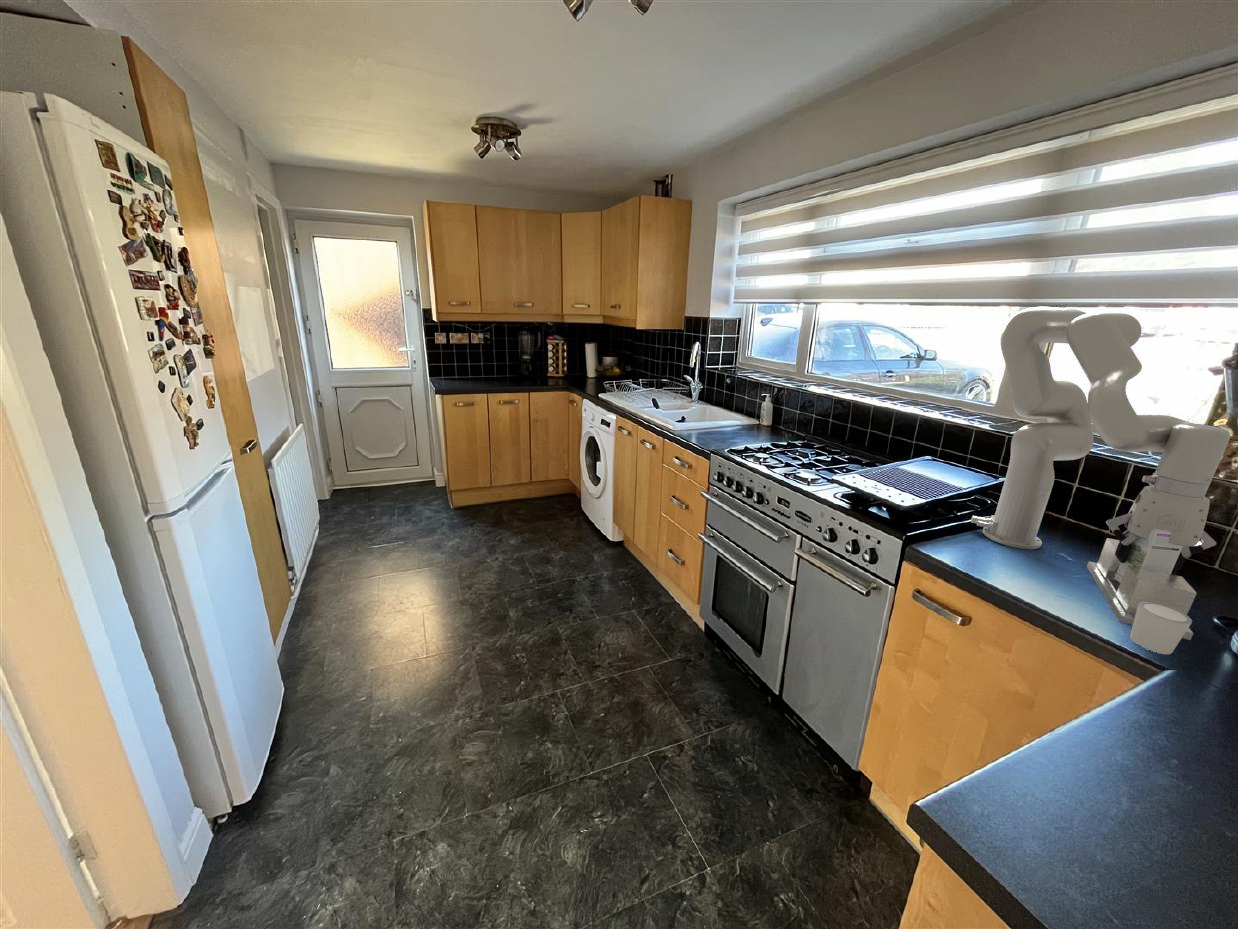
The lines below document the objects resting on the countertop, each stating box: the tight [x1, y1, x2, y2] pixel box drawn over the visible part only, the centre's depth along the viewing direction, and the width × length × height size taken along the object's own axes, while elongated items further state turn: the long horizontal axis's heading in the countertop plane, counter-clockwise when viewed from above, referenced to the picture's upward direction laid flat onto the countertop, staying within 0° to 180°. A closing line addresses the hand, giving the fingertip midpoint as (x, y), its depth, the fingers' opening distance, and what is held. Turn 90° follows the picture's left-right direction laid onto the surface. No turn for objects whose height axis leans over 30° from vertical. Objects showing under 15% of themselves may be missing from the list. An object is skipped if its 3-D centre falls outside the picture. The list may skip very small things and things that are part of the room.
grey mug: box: [1129, 602, 1193, 655], centre depth 91 cm, size 7×7×7 cm
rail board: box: [1086, 537, 1197, 641], centre depth 106 cm, size 10×26×9 cm, turn 149°
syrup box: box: [1113, 529, 1183, 583], centre depth 104 cm, size 6×6×14 cm
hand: (1145, 565), depth 105 cm, fingers closed on syrup box, 7 cm apart
